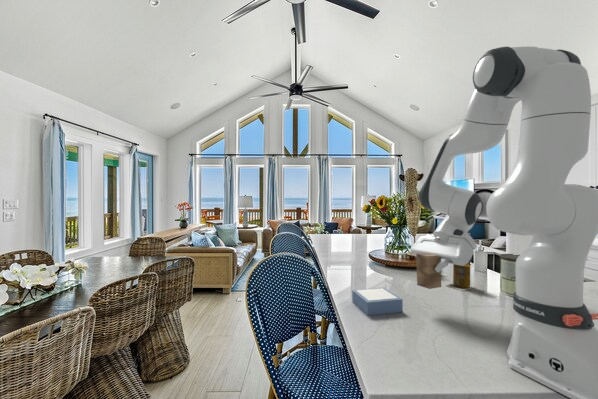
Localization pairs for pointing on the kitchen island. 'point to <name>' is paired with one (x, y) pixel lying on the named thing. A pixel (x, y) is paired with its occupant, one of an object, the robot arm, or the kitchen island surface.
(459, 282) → the condiment
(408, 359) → the kitchen island surface
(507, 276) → the coffee can
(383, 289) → the pedestal
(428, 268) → the walnut block
